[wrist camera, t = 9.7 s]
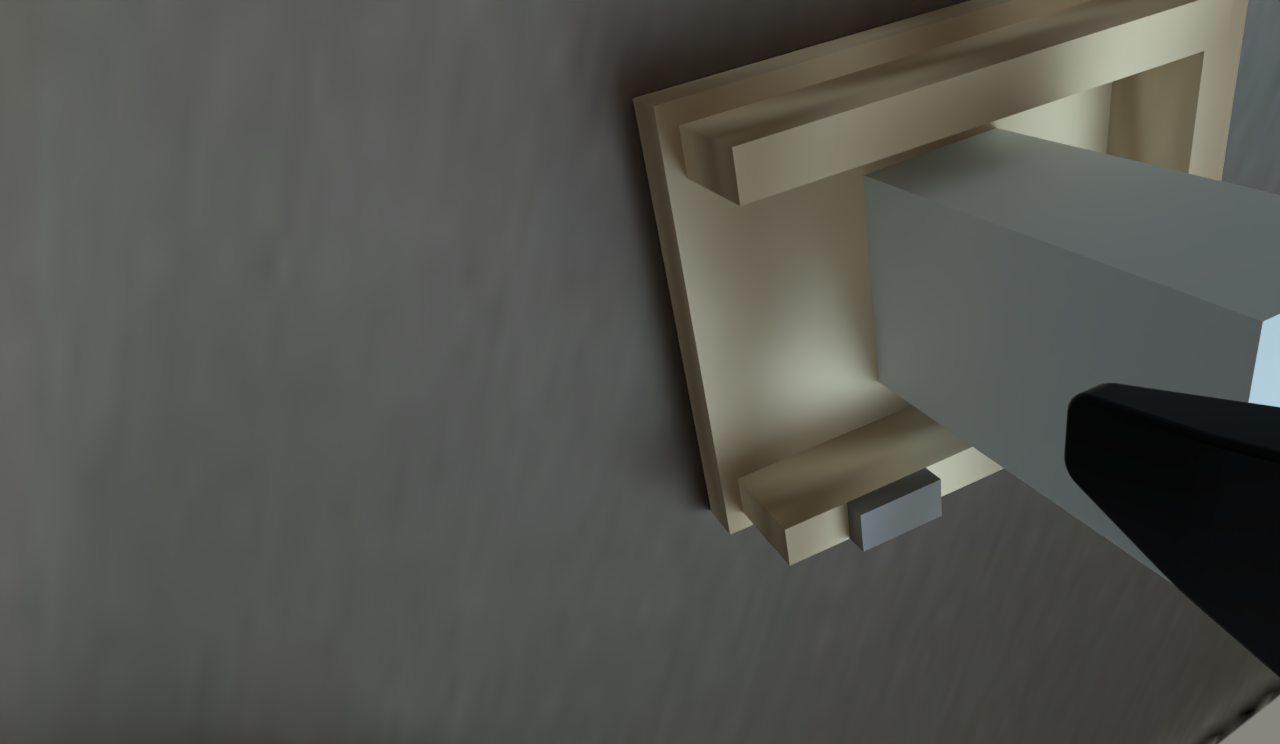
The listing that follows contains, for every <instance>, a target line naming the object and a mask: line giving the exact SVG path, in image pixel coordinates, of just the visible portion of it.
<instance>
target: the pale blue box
mask: <svg viewBox="0 0 1280 744" xmlns="http://www.w3.org/2000/svg"><path fill="white" fill-rule="evenodd" d="M863 182H864V195H865V209H866V222H867V235H868V248H869V262H870V275H871V288H872V301H873V314H874V328H875V341H876V354H877V367H878V380H879V383H881V384H882V385H884V386H885V387H886V388H888V389H889V390H891V391H892V392H894V393H895V394H897V395H898V396H900V397H901V398H902V399H904V400H905V401H907V402H908V403H910V404H911V405H913V406H914V407H916V408H917V409H919V410H920V411H921V412H923V413H924V414H926V415H927V416H929V417H930V418H932V419H933V420H935V421H936V422H937V423H939V424H940V425H942V426H943V427H945V428H946V429H948V430H949V431H951V432H952V433H953V434H955V435H956V436H958V437H959V438H961V439H962V440H964V441H965V442H967V443H968V444H969V445H971V446H972V447H974V448H975V449H977V450H978V451H980V452H981V453H983V454H984V455H985V456H987V457H988V458H990V459H991V460H993V461H994V462H996V463H997V464H999V465H1000V466H1001V467H1003V468H1004V469H1006V470H1007V471H1009V472H1010V473H1012V474H1013V475H1015V476H1016V477H1017V478H1019V479H1020V480H1022V481H1023V482H1025V483H1026V484H1028V485H1029V486H1031V487H1032V488H1034V489H1035V490H1036V491H1038V492H1039V493H1041V494H1042V495H1044V496H1045V497H1047V498H1048V499H1050V500H1051V501H1052V502H1054V503H1055V504H1057V505H1058V506H1060V507H1061V508H1063V509H1064V510H1066V511H1067V512H1068V513H1070V514H1071V515H1073V516H1074V517H1076V518H1077V519H1079V520H1080V521H1082V522H1083V523H1084V524H1086V525H1087V526H1089V527H1090V528H1092V529H1093V530H1095V531H1096V532H1098V533H1099V534H1100V535H1102V536H1103V537H1105V538H1106V539H1108V540H1109V541H1111V542H1112V543H1114V544H1115V545H1116V546H1118V547H1119V548H1121V549H1122V550H1124V551H1125V552H1127V553H1128V554H1130V555H1131V556H1132V557H1134V558H1135V559H1137V560H1138V561H1140V562H1141V563H1143V564H1144V565H1146V566H1147V567H1149V568H1150V569H1151V570H1153V571H1154V572H1156V573H1157V574H1159V575H1160V576H1162V577H1163V578H1165V579H1166V580H1167V581H1169V582H1170V583H1172V582H1171V581H1170V580H1169V579H1168V578H1167V577H1166V576H1165V575H1164V574H1163V573H1162V572H1161V571H1160V570H1159V569H1158V568H1157V567H1156V566H1155V565H1154V564H1153V563H1152V562H1151V561H1150V560H1149V559H1148V558H1147V557H1146V556H1145V555H1144V554H1143V553H1142V552H1141V551H1140V550H1139V549H1138V548H1137V547H1136V546H1135V544H1134V543H1133V542H1132V541H1131V540H1130V539H1129V538H1128V537H1127V536H1126V535H1125V534H1124V533H1123V532H1122V531H1121V530H1120V529H1119V528H1118V527H1117V526H1116V525H1115V524H1114V523H1113V522H1112V521H1111V520H1110V519H1109V518H1108V516H1107V515H1106V514H1105V513H1104V512H1103V511H1102V510H1101V509H1100V508H1099V507H1098V506H1097V505H1096V504H1095V503H1094V502H1093V501H1092V500H1091V499H1090V498H1089V497H1088V496H1087V495H1086V494H1085V493H1084V492H1083V491H1082V489H1081V488H1080V487H1079V486H1078V485H1077V484H1076V483H1075V482H1074V481H1073V480H1072V478H1071V477H1070V475H1069V473H1068V471H1067V469H1066V466H1065V462H1064V449H1065V435H1066V420H1067V409H1068V404H1069V402H1070V401H1071V399H1072V398H1073V397H1074V396H1075V395H1077V394H1079V393H1081V392H1083V391H1086V390H1088V389H1090V388H1093V387H1095V386H1097V385H1099V384H1103V383H1119V384H1126V385H1132V386H1139V387H1146V388H1153V389H1160V390H1166V391H1173V392H1180V393H1187V394H1194V395H1201V396H1207V397H1214V398H1221V399H1228V400H1235V401H1241V402H1248V403H1255V404H1262V405H1269V406H1275V407H1280V195H1277V194H1273V193H1269V192H1264V191H1260V190H1256V189H1252V188H1248V187H1243V186H1239V185H1235V184H1231V183H1226V182H1222V181H1218V180H1214V179H1210V178H1205V177H1201V176H1197V175H1193V174H1188V173H1184V172H1180V171H1176V170H1172V169H1167V168H1163V167H1159V166H1155V165H1150V164H1146V163H1142V162H1138V161H1134V160H1129V159H1125V158H1121V157H1117V156H1112V155H1108V154H1104V153H1100V152H1096V151H1091V150H1087V149H1083V148H1079V147H1074V146H1070V145H1066V144H1062V143H1058V142H1053V141H1049V140H1045V139H1041V138H1036V137H1032V136H1028V135H1024V134H1020V133H1015V132H1011V131H1007V130H1003V129H998V128H995V129H992V130H989V131H986V132H984V133H981V134H978V135H975V136H972V137H969V138H967V139H964V140H961V141H958V142H955V143H953V144H950V145H947V146H944V147H941V148H938V149H936V150H933V151H930V152H927V153H924V154H922V155H919V156H916V157H913V158H910V159H907V160H905V161H902V162H899V163H896V164H893V165H891V166H888V167H885V168H882V169H879V170H876V171H874V172H871V173H868V174H865V175H863ZM1172 584H1173V583H1172ZM1173 585H1174V584H1173Z"/></svg>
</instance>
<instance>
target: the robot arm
mask: <svg viewBox="0 0 1280 744" xmlns="http://www.w3.org/2000/svg"><path fill="white" fill-rule="evenodd" d="M1064 462H1065V466H1066V469H1067V471H1068V473H1069V475H1070V477H1071V478H1072V480H1073V481H1074V482H1075V483H1076V484H1077V485H1078V486H1079V487H1080V488H1081V489H1082V491H1083V492H1084V493H1085V494H1086V495H1087V496H1088V497H1089V498H1090V499H1091V500H1092V501H1093V502H1094V503H1095V504H1096V505H1097V506H1098V507H1099V508H1100V509H1101V510H1102V511H1103V512H1104V513H1105V514H1106V515H1107V516H1108V518H1109V519H1110V520H1111V521H1112V522H1113V523H1114V524H1115V525H1116V526H1117V527H1118V528H1119V529H1120V530H1121V531H1122V532H1123V533H1124V534H1125V535H1126V536H1127V537H1128V538H1129V539H1130V540H1131V541H1132V542H1133V543H1134V544H1135V546H1136V547H1137V548H1138V549H1139V550H1140V551H1141V552H1142V553H1143V554H1144V555H1145V556H1146V557H1147V558H1148V559H1149V560H1150V561H1151V562H1152V563H1153V564H1154V565H1155V566H1156V567H1157V568H1158V569H1159V570H1160V571H1161V572H1162V573H1163V574H1164V575H1165V576H1166V577H1167V578H1168V579H1169V580H1170V581H1171V582H1172V583H1173V584H1174V585H1175V586H1176V587H1177V588H1178V589H1179V590H1180V591H1181V592H1182V593H1183V594H1184V595H1185V596H1187V597H1188V598H1189V599H1190V600H1191V601H1192V602H1193V603H1194V604H1195V605H1197V606H1198V607H1199V608H1200V609H1201V610H1202V611H1203V612H1205V613H1206V614H1207V615H1208V616H1209V617H1210V618H1212V619H1213V620H1214V621H1215V622H1216V623H1217V624H1218V625H1220V626H1221V627H1222V628H1223V629H1224V630H1225V631H1227V632H1228V633H1229V634H1230V635H1231V636H1232V637H1233V638H1235V639H1236V640H1237V641H1238V642H1239V643H1240V644H1242V645H1243V646H1244V647H1245V648H1246V649H1247V650H1248V651H1250V652H1251V653H1252V654H1253V655H1254V656H1255V657H1257V658H1258V659H1259V660H1260V661H1261V662H1262V663H1263V664H1265V665H1266V666H1267V667H1268V668H1269V669H1270V670H1272V671H1273V672H1274V673H1275V674H1276V675H1277V676H1278V677H1280V407H1275V406H1269V405H1262V404H1255V403H1248V402H1241V401H1235V400H1228V399H1221V398H1214V397H1207V396H1201V395H1194V394H1187V393H1180V392H1173V391H1166V390H1160V389H1153V388H1146V387H1139V386H1132V385H1126V384H1119V383H1103V384H1099V385H1097V386H1095V387H1093V388H1090V389H1088V390H1086V391H1083V392H1081V393H1079V394H1077V395H1075V396H1074V397H1073V398H1072V399H1071V401H1070V402H1069V404H1068V409H1067V420H1066V435H1065V449H1064Z"/></svg>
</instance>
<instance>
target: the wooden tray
mask: <svg viewBox="0 0 1280 744" xmlns="http://www.w3.org/2000/svg"><path fill="white" fill-rule="evenodd" d="M1247 6H1248V0H969V1H966V2H962V3H959V4H956V5H952V6H949V7H945V8H942V9H938V10H935V11H931V12H928V13H925V14H921V15H918V16H914V17H911V18H907V19H904V20H900V21H897V22H894V23H890V24H887V25H883V26H880V27H876V28H873V29H870V30H866V31H863V32H859V33H856V34H852V35H849V36H845V37H842V38H839V39H835V40H832V41H828V42H825V43H821V44H818V45H814V46H811V47H808V48H804V49H801V50H797V51H794V52H790V53H787V54H783V55H780V56H777V57H773V58H770V59H766V60H763V61H759V62H756V63H753V64H749V65H746V66H742V67H739V68H735V69H732V70H728V71H725V72H722V73H718V74H715V75H711V76H708V77H704V78H701V79H697V80H694V81H691V82H687V83H684V84H680V85H677V86H673V87H670V88H666V89H663V90H660V91H656V92H653V93H649V94H646V95H642V96H639V97H636V98H633V103H634V108H635V113H636V119H637V124H638V129H639V134H640V140H641V145H642V150H643V155H644V161H645V166H646V171H647V176H648V182H649V187H650V192H651V197H652V203H653V208H654V213H655V218H656V224H657V229H658V234H659V239H660V245H661V250H662V255H663V260H664V266H665V271H666V276H667V282H668V287H669V292H670V297H671V303H672V308H673V313H674V318H675V324H676V329H677V334H678V339H679V345H680V350H681V355H682V360H683V366H684V371H685V376H686V381H687V387H688V392H689V397H690V402H691V408H692V413H693V418H694V423H695V429H696V434H697V439H698V444H699V450H700V455H701V460H702V465H703V471H704V476H705V481H706V486H707V492H708V497H709V502H710V507H711V512H712V513H713V514H714V515H715V517H716V518H717V519H718V520H719V522H720V523H721V524H722V525H723V526H724V528H725V529H726V530H727V531H728V532H729V534H733V533H735V532H737V531H739V530H742V529H744V528H746V527H749V526H751V525H753V524H754V525H755V527H756V528H757V529H758V530H759V531H760V532H761V533H762V535H763V536H764V537H765V538H766V539H767V540H768V541H769V543H770V544H771V545H772V546H773V547H774V548H775V549H776V551H777V552H778V553H779V554H780V555H781V556H782V557H783V559H784V560H785V561H786V562H787V563H788V564H789V565H792V564H795V563H797V562H799V561H801V560H803V559H806V558H808V557H810V556H812V555H814V554H817V553H819V552H821V551H823V550H825V549H828V548H830V547H832V546H834V545H836V544H839V543H841V542H843V541H845V540H847V539H851V540H852V541H853V542H854V543H855V544H856V545H857V546H858V547H859V548H860V549H861V550H862V551H863V552H864V551H866V550H868V549H870V548H873V547H875V546H877V545H879V544H881V543H883V542H886V541H888V540H890V539H892V538H894V537H896V536H899V535H901V534H903V533H905V532H907V531H909V530H912V529H914V528H916V527H918V526H920V525H922V524H925V523H927V522H929V521H931V520H933V519H935V518H938V517H940V516H942V511H941V497H942V496H944V495H946V494H949V493H951V492H953V491H955V490H957V489H960V488H962V487H964V486H966V485H968V484H971V483H973V482H975V481H977V480H979V479H982V478H984V477H986V476H988V475H990V474H993V473H995V472H997V471H999V470H1001V469H1003V467H1001V466H1000V465H999V464H997V463H996V462H994V461H993V460H991V459H990V458H988V457H987V456H985V455H984V454H983V453H981V452H980V451H978V450H977V449H975V448H974V447H972V446H971V445H969V444H968V443H967V442H965V441H964V440H962V439H961V438H959V437H958V436H956V435H955V434H953V433H952V432H951V431H949V430H948V429H946V428H945V427H943V426H942V425H940V424H939V423H937V422H936V421H935V420H933V419H932V418H930V417H929V416H927V415H926V414H924V413H923V412H921V411H920V410H919V409H917V408H916V407H914V406H913V405H911V404H910V403H908V402H907V401H905V400H904V399H902V398H901V397H900V396H898V395H897V394H895V393H894V392H892V391H891V390H889V389H888V388H886V387H885V386H884V385H882V384H881V383H879V380H878V367H877V354H876V341H875V328H874V314H873V301H872V288H871V275H870V262H869V248H868V235H867V222H866V209H865V195H864V182H863V175H865V174H868V173H871V172H874V171H876V170H879V169H882V168H885V167H888V166H891V165H893V164H896V163H899V162H902V161H905V160H907V159H910V158H913V157H916V156H919V155H922V154H924V153H927V152H930V151H933V150H936V149H938V148H941V147H944V146H947V145H950V144H953V143H955V142H958V141H961V140H964V139H967V138H969V137H972V136H975V135H978V134H981V133H984V132H986V131H989V130H992V129H995V128H998V129H1003V130H1007V131H1011V132H1015V133H1020V134H1024V135H1028V136H1032V137H1036V138H1041V139H1045V140H1049V141H1053V142H1058V143H1062V144H1066V145H1070V146H1074V147H1079V148H1083V149H1087V150H1091V151H1096V152H1100V153H1104V154H1108V155H1112V156H1117V157H1121V158H1125V159H1129V160H1134V161H1138V162H1142V163H1146V164H1150V165H1155V166H1159V167H1163V168H1167V169H1172V170H1176V171H1180V172H1184V173H1188V174H1193V175H1197V176H1201V177H1205V178H1210V179H1214V180H1218V181H1221V179H1222V172H1223V166H1224V159H1225V152H1226V146H1227V139H1228V132H1229V126H1230V119H1231V112H1232V106H1233V99H1234V92H1235V86H1236V79H1237V72H1238V66H1239V59H1240V53H1241V46H1242V39H1243V33H1244V26H1245V19H1246V13H1247Z"/></svg>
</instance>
